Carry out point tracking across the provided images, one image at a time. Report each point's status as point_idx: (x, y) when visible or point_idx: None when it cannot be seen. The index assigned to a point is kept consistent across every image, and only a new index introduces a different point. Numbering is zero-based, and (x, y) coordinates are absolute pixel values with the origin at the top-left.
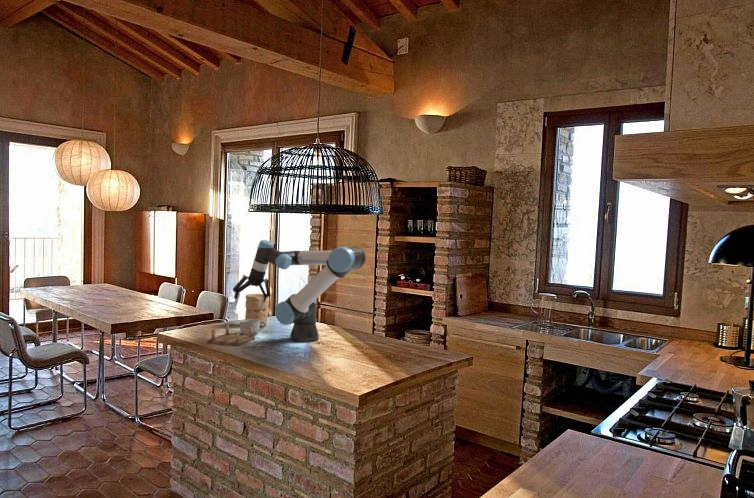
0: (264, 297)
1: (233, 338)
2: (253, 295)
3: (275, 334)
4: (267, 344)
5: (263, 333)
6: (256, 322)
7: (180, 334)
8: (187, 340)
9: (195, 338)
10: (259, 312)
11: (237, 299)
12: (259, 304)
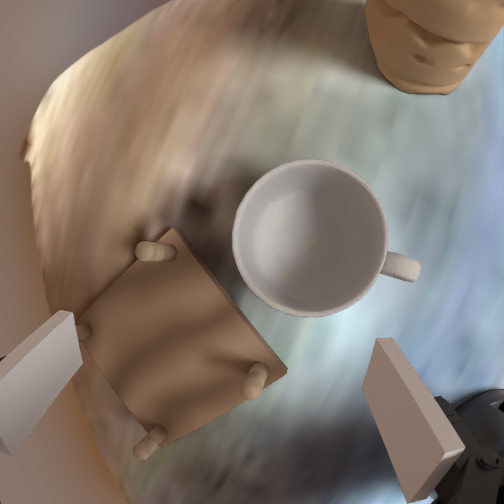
0: (428, 495)
1: (166, 360)
2: None
3: (438, 303)
4: (289, 477)
5: (394, 247)
6: (335, 310)
7: (59, 122)
8: (40, 237)
9: (66, 213)
10: (445, 50)
11: (40, 404)
12: (383, 368)
